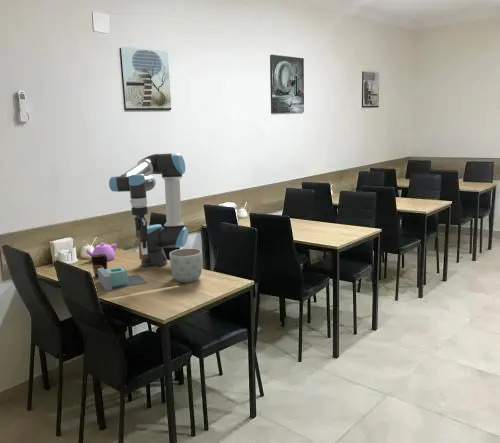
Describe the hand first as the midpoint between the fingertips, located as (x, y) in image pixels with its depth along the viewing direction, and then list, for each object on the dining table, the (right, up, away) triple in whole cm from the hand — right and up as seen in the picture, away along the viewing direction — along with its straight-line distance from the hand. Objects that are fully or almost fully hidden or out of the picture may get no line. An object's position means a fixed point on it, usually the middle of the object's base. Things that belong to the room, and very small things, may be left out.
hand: (143, 253), depth 238 cm
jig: (-14, -17, +14) cm, 26 cm away
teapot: (-40, -9, +65) cm, 76 cm away
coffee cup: (-29, -16, +26) cm, 42 cm away
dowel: (0, -3, +1) cm, 3 cm away
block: (-16, -16, +12) cm, 26 cm away
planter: (+19, -16, +17) cm, 30 cm away
